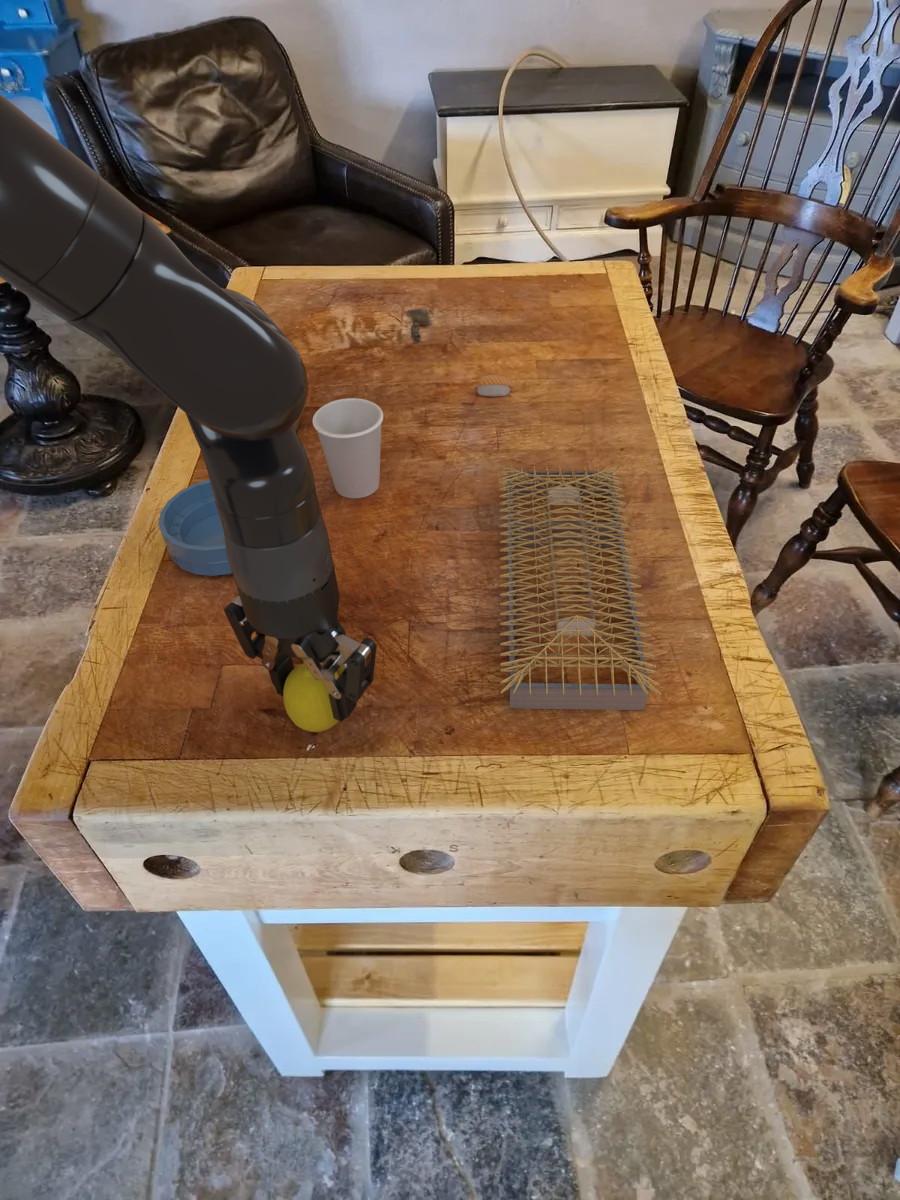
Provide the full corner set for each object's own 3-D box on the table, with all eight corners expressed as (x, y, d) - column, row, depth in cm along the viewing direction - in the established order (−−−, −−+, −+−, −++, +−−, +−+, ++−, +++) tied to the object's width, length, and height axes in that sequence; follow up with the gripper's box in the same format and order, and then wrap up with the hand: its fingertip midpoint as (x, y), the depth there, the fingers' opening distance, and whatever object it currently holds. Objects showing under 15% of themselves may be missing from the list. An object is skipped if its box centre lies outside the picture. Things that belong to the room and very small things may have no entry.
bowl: (236, 593, 88) (226, 563, 84) (145, 558, 92) (133, 528, 89) (305, 524, 96) (299, 494, 93) (219, 495, 100) (210, 465, 97)
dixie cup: (320, 471, 103) (307, 403, 96) (383, 460, 105) (376, 392, 98) (329, 510, 98) (317, 441, 90) (396, 498, 99) (389, 429, 92)
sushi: (514, 398, 115) (515, 379, 112) (469, 398, 115) (469, 380, 113) (514, 389, 116) (514, 370, 114) (470, 389, 117) (470, 370, 115)
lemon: (361, 711, 76) (351, 656, 70) (331, 756, 72) (318, 702, 67) (311, 693, 77) (298, 637, 72) (280, 736, 74) (263, 681, 68)
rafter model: (499, 488, 100) (499, 447, 95) (615, 489, 99) (621, 447, 95) (500, 715, 75) (501, 673, 71) (655, 718, 74) (666, 675, 70)
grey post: (437, 311, 135) (408, 311, 136) (437, 304, 134) (408, 304, 135) (424, 342, 127) (394, 341, 127) (424, 335, 126) (393, 334, 127)
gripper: (176, 565, 61) (227, 702, 73) (334, 626, 56) (360, 763, 68) (238, 509, 65) (276, 647, 77) (389, 561, 60) (405, 699, 72)
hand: (315, 700), depth 72 cm, fingers closed on lemon, 5 cm apart
